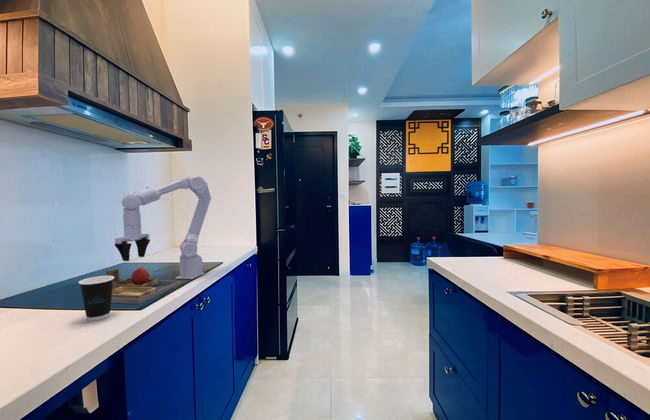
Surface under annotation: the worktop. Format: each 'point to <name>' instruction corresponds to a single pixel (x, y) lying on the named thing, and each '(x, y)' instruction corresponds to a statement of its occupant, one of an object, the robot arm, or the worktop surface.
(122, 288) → the oak tray
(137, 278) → the onion
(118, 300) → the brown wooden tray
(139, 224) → the robot arm
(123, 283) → the walnut tray
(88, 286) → the dixie cup
